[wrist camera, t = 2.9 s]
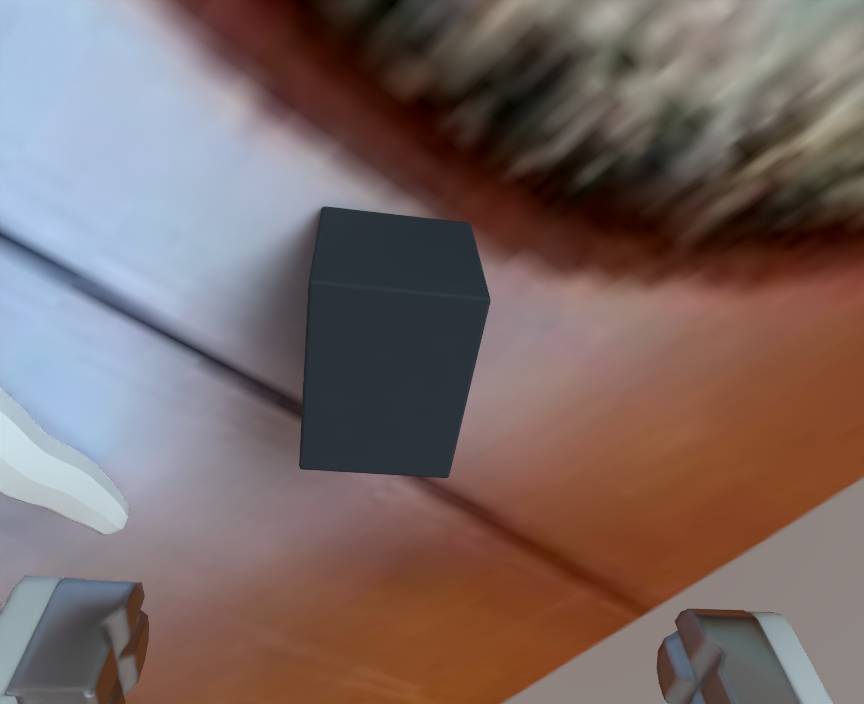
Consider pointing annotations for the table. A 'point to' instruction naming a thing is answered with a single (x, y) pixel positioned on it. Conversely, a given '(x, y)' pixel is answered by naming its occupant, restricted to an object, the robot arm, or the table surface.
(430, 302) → the dark rectangular block
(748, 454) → the table surface
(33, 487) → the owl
